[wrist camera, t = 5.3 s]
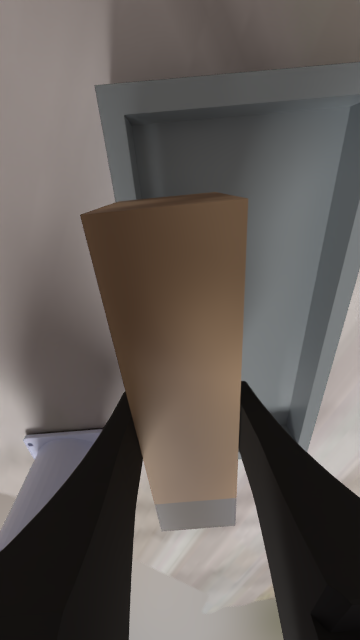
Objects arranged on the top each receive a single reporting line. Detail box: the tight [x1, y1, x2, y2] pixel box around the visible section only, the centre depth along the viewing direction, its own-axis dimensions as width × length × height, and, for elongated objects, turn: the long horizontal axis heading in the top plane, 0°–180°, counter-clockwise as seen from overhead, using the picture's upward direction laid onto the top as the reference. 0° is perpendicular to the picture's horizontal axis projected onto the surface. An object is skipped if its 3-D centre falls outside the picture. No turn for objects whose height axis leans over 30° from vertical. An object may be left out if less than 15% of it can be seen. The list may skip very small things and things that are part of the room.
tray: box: [95, 62, 360, 459], centre depth 18 cm, size 26×13×3 cm, turn 4°
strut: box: [80, 192, 248, 531], centre depth 12 cm, size 4×16×5 cm, turn 5°
